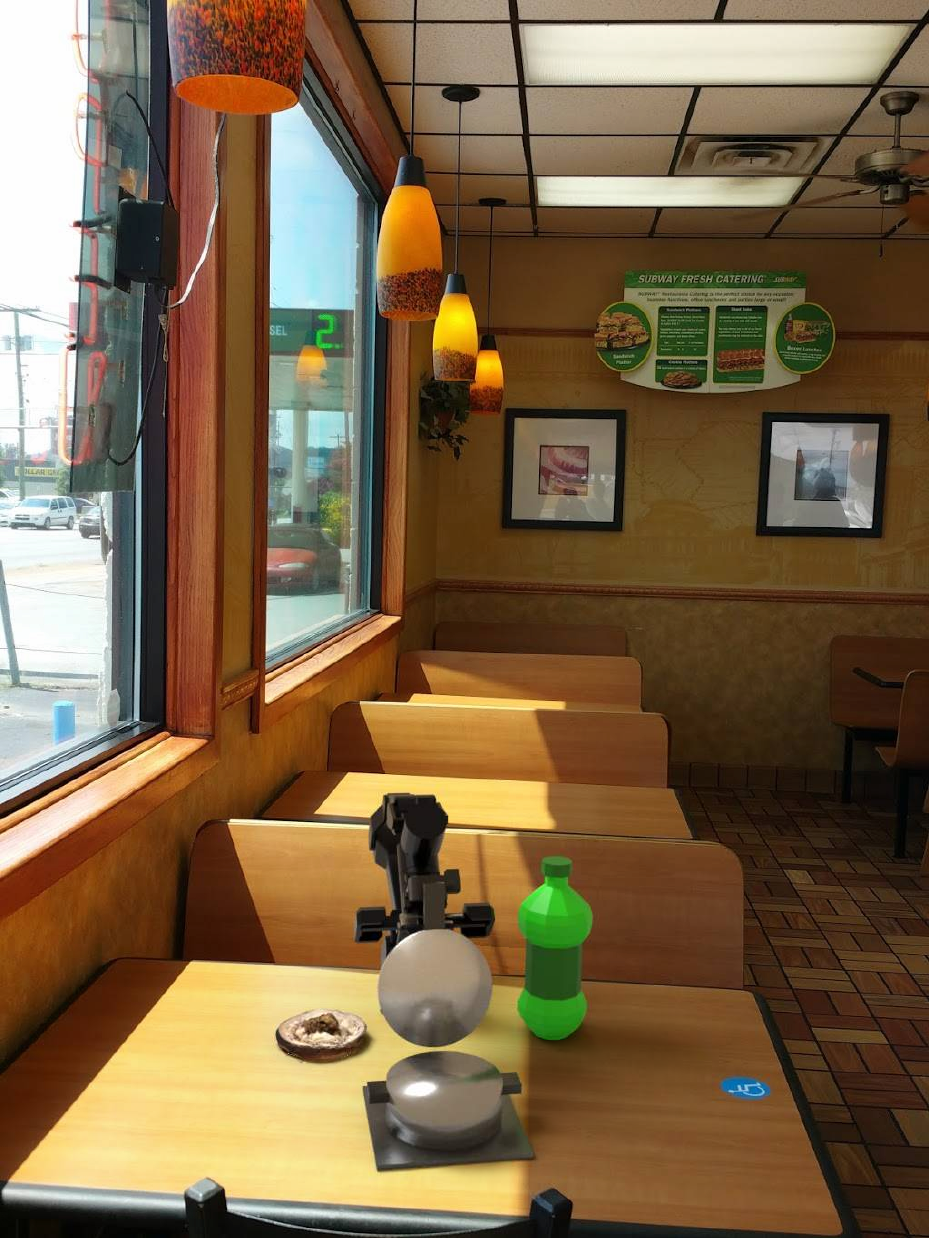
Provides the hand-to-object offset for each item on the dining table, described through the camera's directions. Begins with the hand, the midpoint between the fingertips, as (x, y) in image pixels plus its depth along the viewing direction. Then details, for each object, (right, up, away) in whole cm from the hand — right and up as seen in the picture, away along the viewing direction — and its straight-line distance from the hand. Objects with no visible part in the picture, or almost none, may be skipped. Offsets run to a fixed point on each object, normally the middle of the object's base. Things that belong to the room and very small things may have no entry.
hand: (429, 983), depth 151 cm
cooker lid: (+1, +4, -5) cm, 6 cm away
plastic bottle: (+17, -11, +13) cm, 24 cm away
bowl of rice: (-15, -11, +9) cm, 21 cm away
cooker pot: (+2, -13, -12) cm, 18 cm away
